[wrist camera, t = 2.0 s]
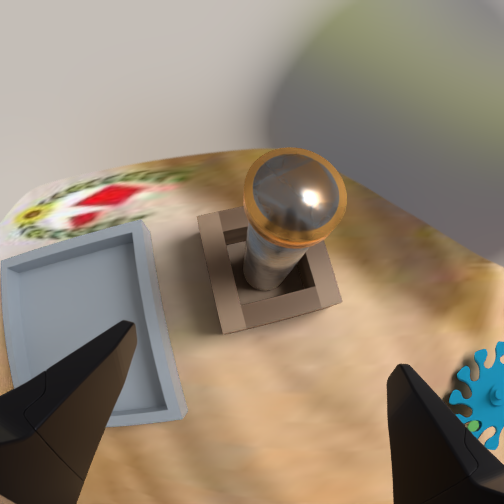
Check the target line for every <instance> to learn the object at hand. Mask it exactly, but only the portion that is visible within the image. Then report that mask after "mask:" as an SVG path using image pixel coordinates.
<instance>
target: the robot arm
mask: <svg viewBox="0 0 504 504" xmlns="http://www.w3.org/2000/svg"><path fill="white" fill-rule="evenodd" d="M136 346H137V333H136V325H135V323H134V322H131V321H127V320H122V321H120V322H118V323H117V324H115V325H114V326H112V327H111V328H109V329H108V330H106V331H105V332H103V333H101V334H100V335H98V336H97V337H95V338H94V339H92V340H91V341H89V342H88V343H86V344H84V345H83V346H81V347H80V348H78V349H77V350H75V351H74V352H72V353H71V354H69V355H68V356H66V357H64V358H63V359H61V360H60V361H58V362H57V363H55V364H54V365H52V366H51V367H49V368H48V369H47V370H46V371H43V372H42V373H40V374H38V375H37V376H35V377H34V378H32V379H31V380H29V381H27V382H26V383H24V384H22V385H20V386H18V387H17V388H15V389H13V390H11V391H9V392H7V393H5V394H3V395H1V396H0V504H76V503H77V501H78V498H79V495H80V492H81V489H82V487H83V484H84V481H85V478H86V476H87V473H88V470H89V468H90V465H91V462H92V460H93V457H94V455H95V452H96V450H97V447H98V445H99V442H100V440H101V437H102V435H103V433H104V430H105V428H106V425H107V423H108V421H109V418H110V416H111V414H112V411H113V409H114V407H115V404H116V402H117V400H118V397H119V395H120V393H121V391H122V388H123V386H124V384H125V381H126V378H127V374H128V371H129V368H130V365H131V362H132V359H133V355H134V352H135V349H136ZM387 416H388V429H389V438H390V449H391V461H392V476H393V498H394V504H504V465H503V464H502V463H501V462H500V461H499V460H498V459H497V458H496V457H495V456H494V455H493V454H492V453H491V452H490V451H489V450H488V449H487V448H486V447H485V446H484V445H483V444H482V443H481V442H480V441H479V440H478V439H477V438H476V437H475V436H474V435H473V434H472V433H471V432H470V431H469V429H468V428H467V427H465V425H464V424H463V423H462V422H461V420H460V419H459V418H458V417H457V416H456V415H455V414H454V413H453V412H452V410H451V409H450V408H449V407H448V406H447V405H446V404H445V403H444V402H443V401H442V399H441V398H440V397H439V396H438V395H437V394H436V393H435V392H434V391H433V390H432V389H431V387H430V386H429V385H428V384H427V383H426V382H425V381H424V380H423V379H422V378H421V377H420V376H419V375H418V374H417V372H416V371H415V370H414V369H413V368H412V367H411V366H410V365H408V364H398V365H397V366H396V368H395V369H394V370H393V372H392V373H391V375H390V376H389V378H388V380H387Z"/></svg>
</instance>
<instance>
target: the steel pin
mask: <svg viewBox="0 0 504 504" xmlns="http://www.w3.org/2000/svg"><path fill="white" fill-rule="evenodd" d="M243 203H244V210H245V214H246V217H247V219H248V221H249V222H248V230H247V239H246V248H245V256H244V265H243V273H244V276H245V279H246V280H247V282H248V283H249V284H250V285H251V286H252V287H254V288H256V289H259V290H271V289H274V288H276V287H277V286H279V285H280V284H281V283H282V281H283V280H284V279H285V278H286V276H287V275H288V274H289V273H290V271H291V270H292V269H293V268H294V266H295V265H296V264H297V263H298V261H299V260H300V259H301V258H302V256H303V255H304V254H305V252H306V251H307V250H308V249H309V247H310V246H313V245H315V244H318V243H319V242H321V241H322V240H324V239H325V238H326V237H327V236H328V235H329V234H330V233H331V232H332V230H333V229H334V228H335V227H336V226H337V225H338V223H339V222H340V221H341V219H342V217H343V215H344V213H345V209H346V205H347V193H346V188H345V185H344V182H343V180H342V178H341V176H340V174H339V173H338V171H337V170H336V169H335V168H334V167H333V166H332V165H331V164H330V163H329V162H328V161H327V160H326V159H324V158H323V157H321V156H320V155H318V154H316V153H314V152H311V151H308V150H305V149H301V148H280V149H275V150H273V151H270V152H268V153H266V154H264V155H262V156H261V157H260V158H258V159H257V160H256V161H255V162H254V163H253V165H252V166H251V167H250V169H249V171H248V173H247V175H246V179H245V184H244V198H243Z"/></svg>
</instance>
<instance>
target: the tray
mask: <svg viewBox="0 0 504 504" xmlns="http://www.w3.org/2000/svg"><path fill="white" fill-rule="evenodd" d="M1 296H2V311H3V323H4V332H5V340H6V347H7V354H8V360H9V366H10V371H11V376H12V381H13V386H14V389H15V388H17V387H18V386H20V385H22V384H24V383H26V382H27V381H29V380H31V379H32V378H34V377H35V376H37V375H38V374H40V373H42V372H43V371H46V370H47V369H48V368H49V367H51V366H52V365H54V364H55V363H57V362H58V361H60V360H61V359H63V358H64V357H66V356H68V355H69V354H71V353H72V352H74V351H75V350H77V349H78V348H80V347H81V346H83V345H84V344H86V343H88V342H89V341H91V340H92V339H94V338H95V337H97V336H98V335H100V334H101V333H103V332H105V331H106V330H108V329H109V328H111V327H112V326H114V325H115V324H117V323H118V322H120V321H122V320H127V321H131V322H134V323H135V325H136V333H137V346H136V349H135V352H134V355H133V359H132V362H131V365H130V368H129V371H128V374H127V378H126V381H125V384H124V386H123V388H122V391H121V393H120V395H119V397H118V400H117V402H116V404H115V407H114V409H113V411H112V414H111V416H110V418H109V421H108V423H107V425H106V427H117V426H130V425H140V424H150V423H158V422H166V421H173V420H180V419H183V418H184V416H185V415H186V413H187V412H188V408H187V404H186V401H185V397H184V394H183V390H182V386H181V383H180V379H179V375H178V371H177V367H176V363H175V359H174V355H173V351H172V347H171V342H170V338H169V334H168V329H167V324H166V320H165V315H164V310H163V305H162V300H161V295H160V289H159V284H158V278H157V273H156V267H155V261H154V254H153V248H152V241H151V234H150V231H149V229H148V228H147V226H146V225H145V224H144V222H143V221H142V220H137V221H133V222H129V223H125V224H122V225H118V226H114V227H110V228H107V229H103V230H99V231H96V232H92V233H89V234H85V235H82V236H78V237H75V238H71V239H68V240H65V241H61V242H58V243H55V244H51V245H48V246H45V247H42V248H39V249H35V250H32V251H29V252H26V253H23V254H20V255H17V256H14V257H11V258H8V259H5V260H2V261H1Z"/></svg>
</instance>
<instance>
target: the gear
mask: <svg viewBox="0 0 504 504" xmlns="http://www.w3.org/2000/svg"><path fill="white" fill-rule="evenodd" d="M495 352H496V359H495V362H494V364H493V366H492V367H491V368H489V369H487V368H485V367H484V361H485V360H486V357H487V350H486V349H482V350H479V351H477V352H475V355H474V360H475V362H476V363H477V364H478V367H479V379H478V380H477V381H472V380H471V379H470V369H469V367H468V366H465V367H463V368H462V369H461V370H460V371H459V372H458V373H457V378H458V380H460V381H462V382H464V383H466V384H467V385H468V386H469V388H470V390H471V392H472V396H471V397H470V398H469V399H464V398H463V397H462V394H461V392H460V391H459V390H454V391H453V392H452V394H451V396H450V399H449V403H450V404H451V405H456V404H463V405H466V406H468V407H470V408H471V409H472V415H471V416H470V417H467V418H466V417H464V416H462V415H461V414H456V416H457V417H458V418H459V419H460V420H461V422H462V423H463V424H465V423H467V422H470V421H471V422H470V423H469V424H468V427H467V428H468V429H469V431H470V432H471V433H472V434H473V435H474V436H475V437H476V438H477V439H478V438H479V437H480V436H481V434H482V433H483V431H484V430H486V429H487V428H489V427H491V426H493V427H495V429H496V432H495V434H494V436H492V437H491V438H489V439H488V440H487V441H486V442H485V444H484V446H485V447H486V448H487V449H490V450H495V449H496V448H497V447H498V444H499V436H500V433H501V430H502V429H503V427H504V364H502V363H501V362H500V357H501V356H503V355H504V342H500V341H499V342H498V343H497V345H496V348H495Z"/></svg>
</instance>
